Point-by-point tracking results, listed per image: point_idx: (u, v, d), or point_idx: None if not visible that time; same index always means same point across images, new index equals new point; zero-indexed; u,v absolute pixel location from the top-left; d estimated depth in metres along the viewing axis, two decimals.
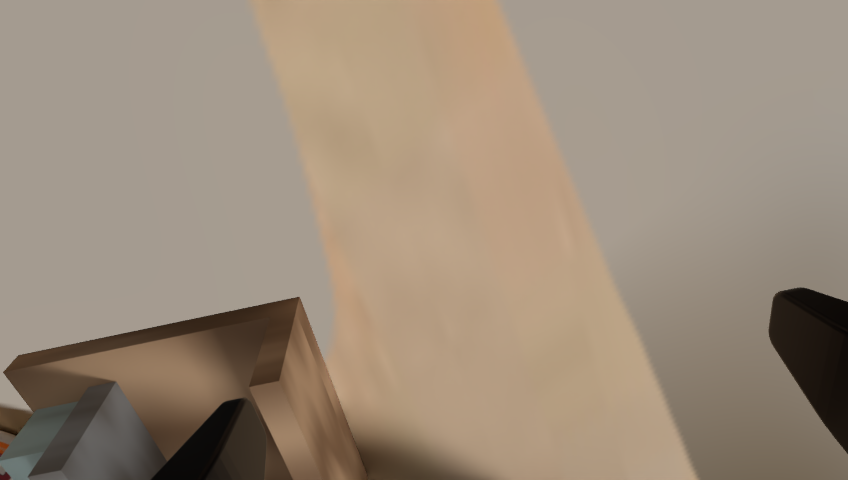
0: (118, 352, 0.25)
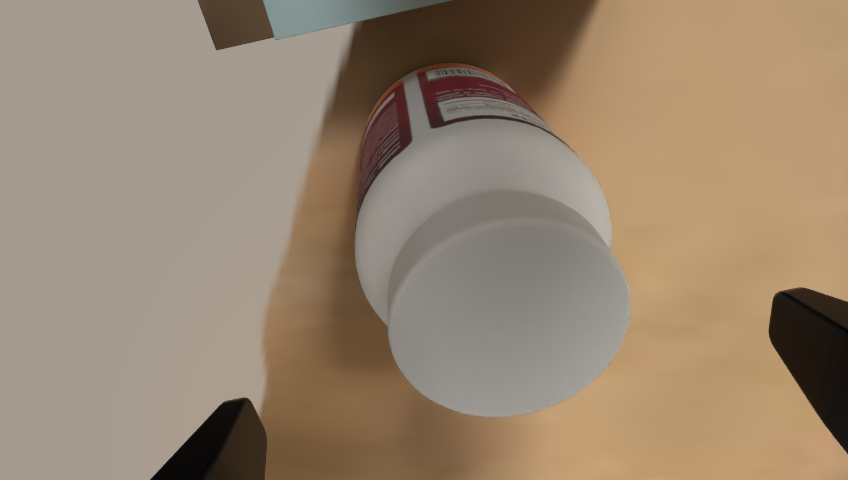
0: None
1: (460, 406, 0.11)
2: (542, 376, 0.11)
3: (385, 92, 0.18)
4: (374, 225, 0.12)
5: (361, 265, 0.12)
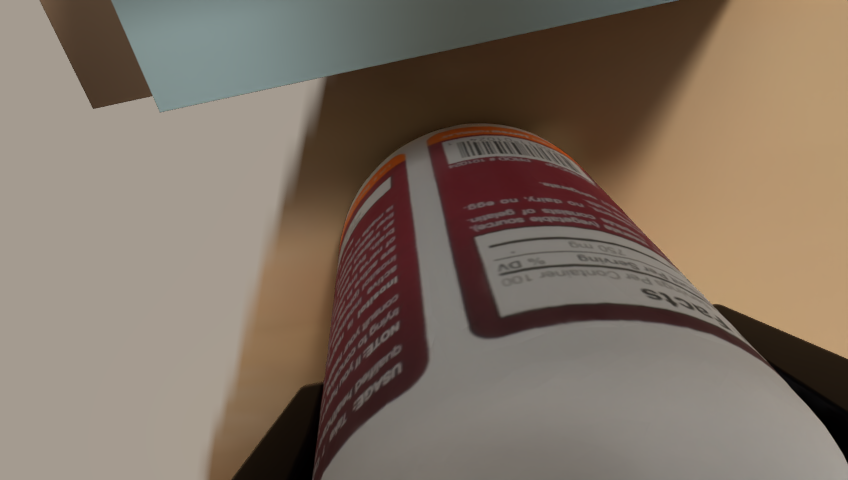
0: None
1: None
2: None
3: (376, 169, 0.11)
4: None
5: None
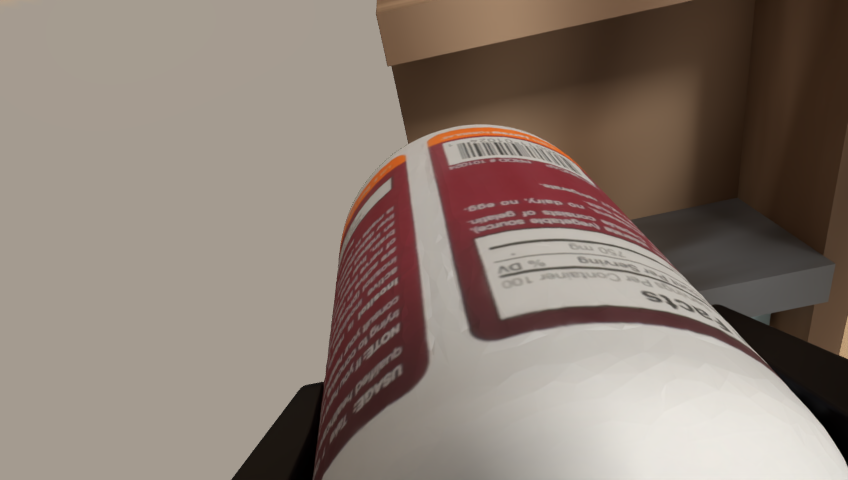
0: None
1: None
2: None
3: (377, 170, 0.11)
4: None
5: None
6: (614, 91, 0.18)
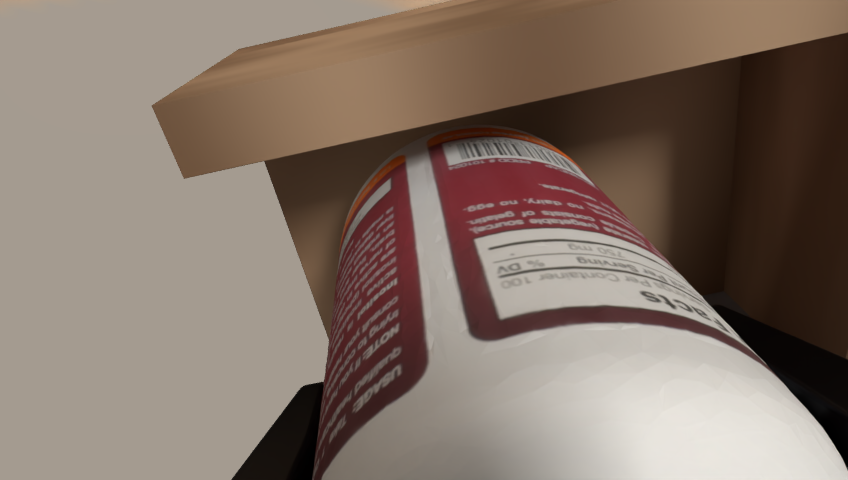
0: None
1: None
2: None
3: (377, 170, 0.11)
4: None
5: None
6: None
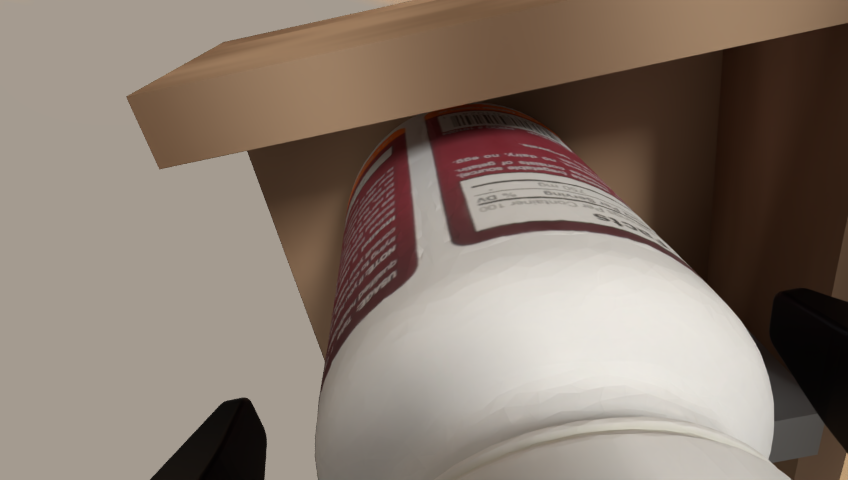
0: (324, 339, 0.16)
1: None
2: None
3: (380, 143, 0.13)
4: (343, 433, 0.06)
5: None
6: None
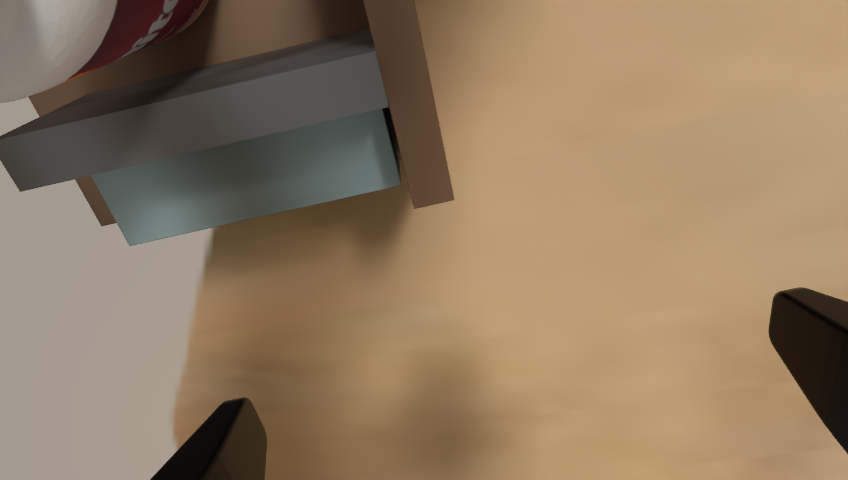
0: None
1: None
2: None
3: None
4: None
5: None
6: None
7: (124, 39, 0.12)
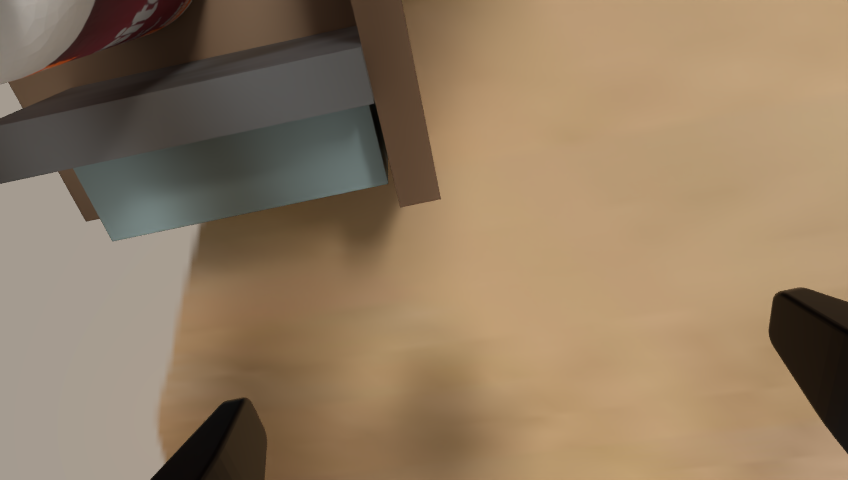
0: None
1: None
2: None
3: None
4: None
5: None
6: None
7: (106, 28, 0.11)
